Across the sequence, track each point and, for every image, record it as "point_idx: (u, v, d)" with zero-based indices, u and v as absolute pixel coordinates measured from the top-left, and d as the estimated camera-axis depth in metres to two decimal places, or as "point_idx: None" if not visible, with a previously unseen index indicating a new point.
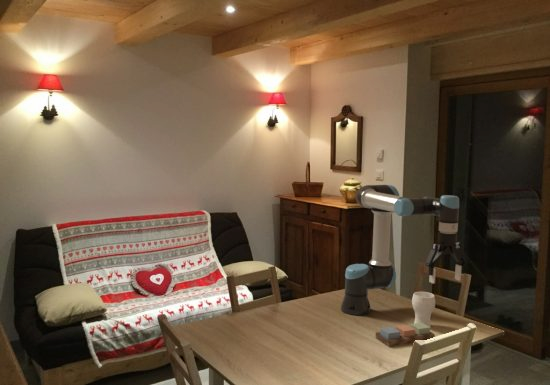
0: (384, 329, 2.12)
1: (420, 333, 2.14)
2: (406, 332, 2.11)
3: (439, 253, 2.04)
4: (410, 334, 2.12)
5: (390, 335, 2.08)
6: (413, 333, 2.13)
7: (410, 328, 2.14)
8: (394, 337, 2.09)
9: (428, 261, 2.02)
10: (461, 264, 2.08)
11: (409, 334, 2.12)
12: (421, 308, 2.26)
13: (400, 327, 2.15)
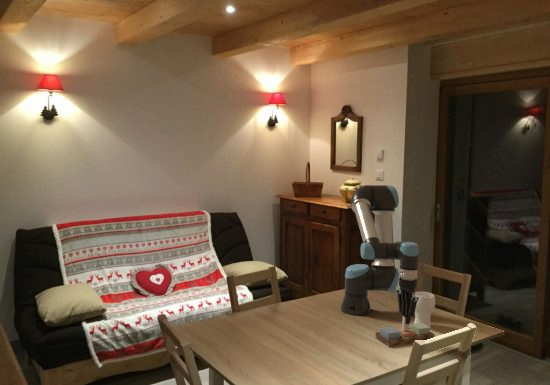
0: (384, 329, 2.12)
1: (420, 333, 2.14)
2: (406, 335, 2.11)
3: None
4: None
5: (390, 335, 2.08)
6: None
7: (410, 331, 2.14)
8: (394, 337, 2.09)
9: None
10: (405, 314, 2.13)
11: None
12: (421, 308, 2.26)
13: (400, 330, 2.15)
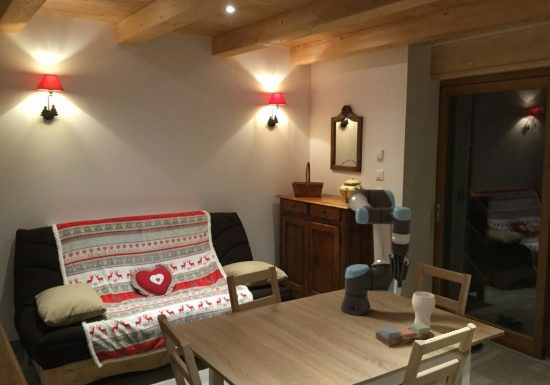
0: (384, 329, 2.12)
1: (420, 333, 2.14)
2: (406, 335, 2.12)
3: None
4: None
5: (390, 335, 2.08)
6: None
7: (410, 331, 2.14)
8: (394, 337, 2.09)
9: None
10: (397, 278, 2.16)
11: None
12: (421, 308, 2.26)
13: (400, 330, 2.15)
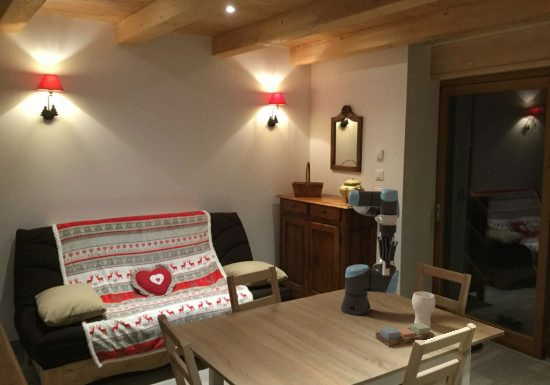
0: (384, 329, 2.12)
1: (420, 333, 2.14)
2: (406, 335, 2.12)
3: None
4: None
5: (390, 335, 2.08)
6: None
7: (410, 331, 2.14)
8: (394, 337, 2.09)
9: None
10: (385, 259, 2.19)
11: None
12: (421, 308, 2.26)
13: (400, 330, 2.15)
